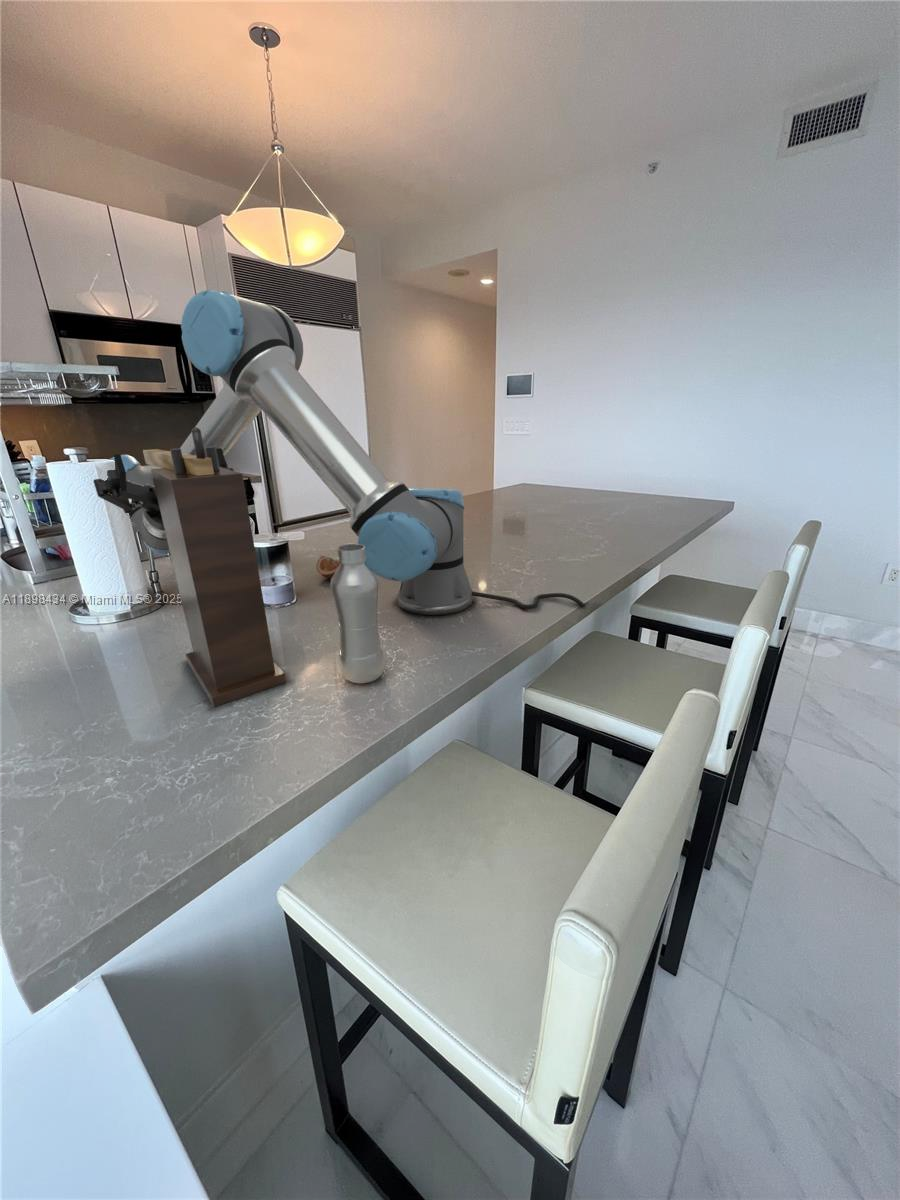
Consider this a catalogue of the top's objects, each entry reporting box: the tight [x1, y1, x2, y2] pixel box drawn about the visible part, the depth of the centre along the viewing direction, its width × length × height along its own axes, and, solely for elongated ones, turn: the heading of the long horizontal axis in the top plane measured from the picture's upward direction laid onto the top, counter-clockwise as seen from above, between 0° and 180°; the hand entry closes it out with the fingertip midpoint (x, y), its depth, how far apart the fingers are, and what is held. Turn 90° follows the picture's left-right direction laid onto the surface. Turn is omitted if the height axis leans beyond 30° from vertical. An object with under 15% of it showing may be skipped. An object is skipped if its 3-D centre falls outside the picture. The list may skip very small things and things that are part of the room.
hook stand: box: [151, 447, 287, 708], centre depth 69 cm, size 16×10×33 cm, turn 38°
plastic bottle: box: [329, 543, 386, 684], centre depth 69 cm, size 6×7×20 cm
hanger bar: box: [142, 426, 214, 476], centre depth 65 cm, size 21×2×6 cm, turn 45°
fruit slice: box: [315, 555, 340, 580], centre depth 114 cm, size 8×7×5 cm
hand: (173, 459), depth 73 cm, fingers open, 13 cm apart
